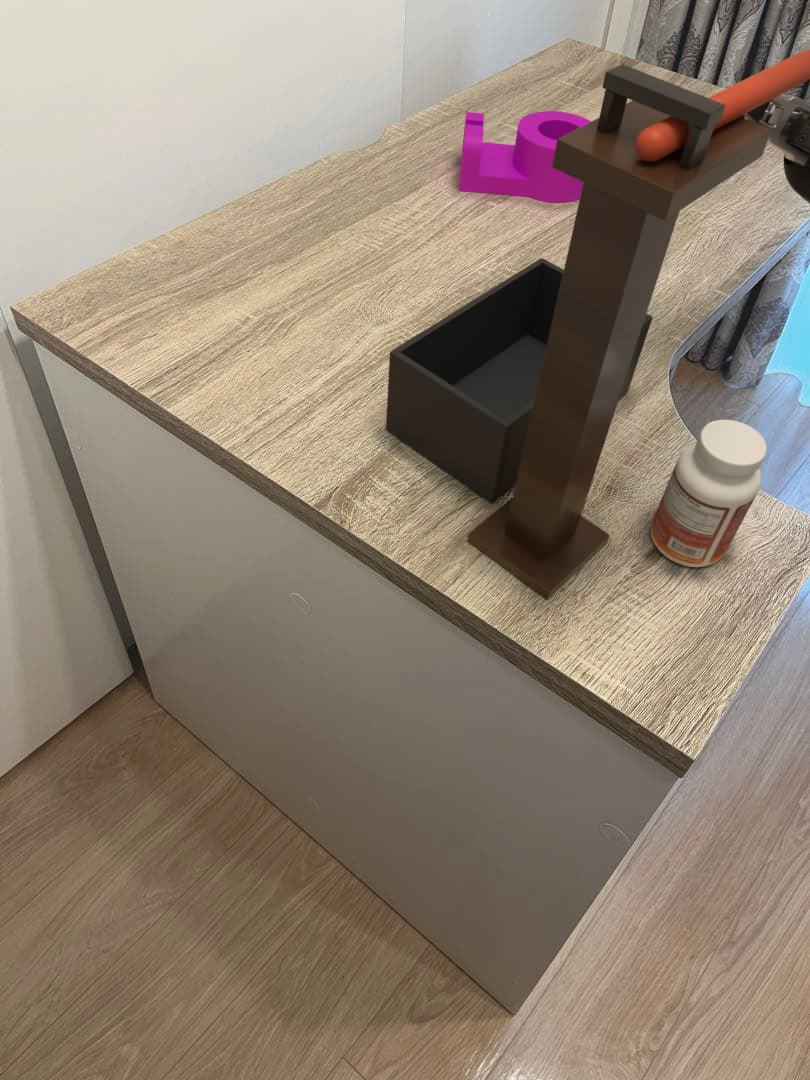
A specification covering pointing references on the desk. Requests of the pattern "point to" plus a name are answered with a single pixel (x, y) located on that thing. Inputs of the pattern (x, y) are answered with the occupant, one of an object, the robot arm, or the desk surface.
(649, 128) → the orange red rod
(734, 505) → the pill bottle
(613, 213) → the brown pedestal stand
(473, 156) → the tape dispenser
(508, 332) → the bin
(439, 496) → the desk surface
